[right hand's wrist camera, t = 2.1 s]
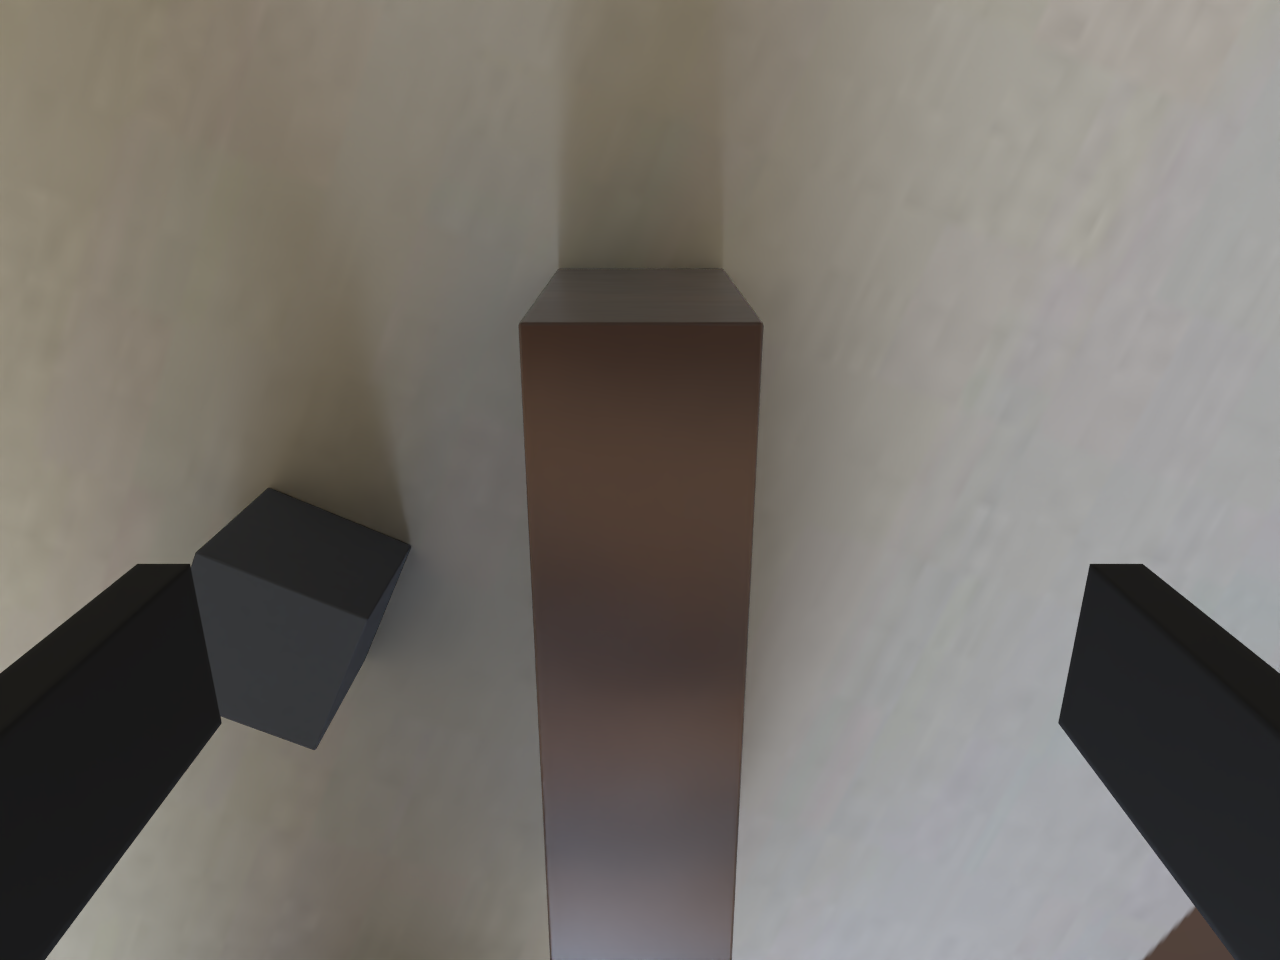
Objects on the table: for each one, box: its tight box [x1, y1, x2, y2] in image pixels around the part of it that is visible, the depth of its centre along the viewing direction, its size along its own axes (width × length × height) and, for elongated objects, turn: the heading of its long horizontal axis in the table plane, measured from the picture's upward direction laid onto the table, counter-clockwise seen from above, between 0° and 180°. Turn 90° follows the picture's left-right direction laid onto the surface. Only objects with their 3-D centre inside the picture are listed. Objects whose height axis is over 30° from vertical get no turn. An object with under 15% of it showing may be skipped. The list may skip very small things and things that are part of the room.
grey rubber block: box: [191, 488, 411, 750], centre depth 27 cm, size 5×5×5 cm
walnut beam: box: [519, 269, 763, 960], centre depth 26 cm, size 24×5×9 cm, turn 0°
